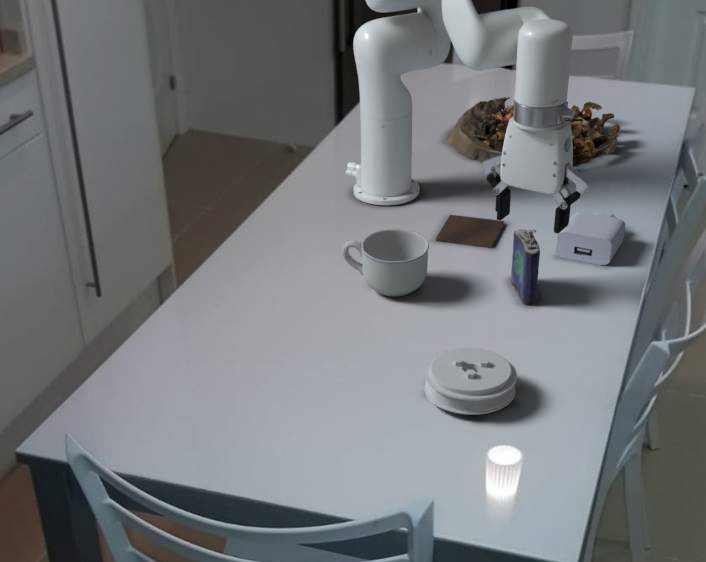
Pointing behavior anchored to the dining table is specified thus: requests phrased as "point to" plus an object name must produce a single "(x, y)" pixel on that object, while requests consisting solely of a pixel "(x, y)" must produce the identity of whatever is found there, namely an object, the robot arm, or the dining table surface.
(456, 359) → the lid
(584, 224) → the charger
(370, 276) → the teacup
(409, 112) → the robot arm
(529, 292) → the dark blue piece
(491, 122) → the food dish
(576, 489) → the dining table surface
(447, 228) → the board
